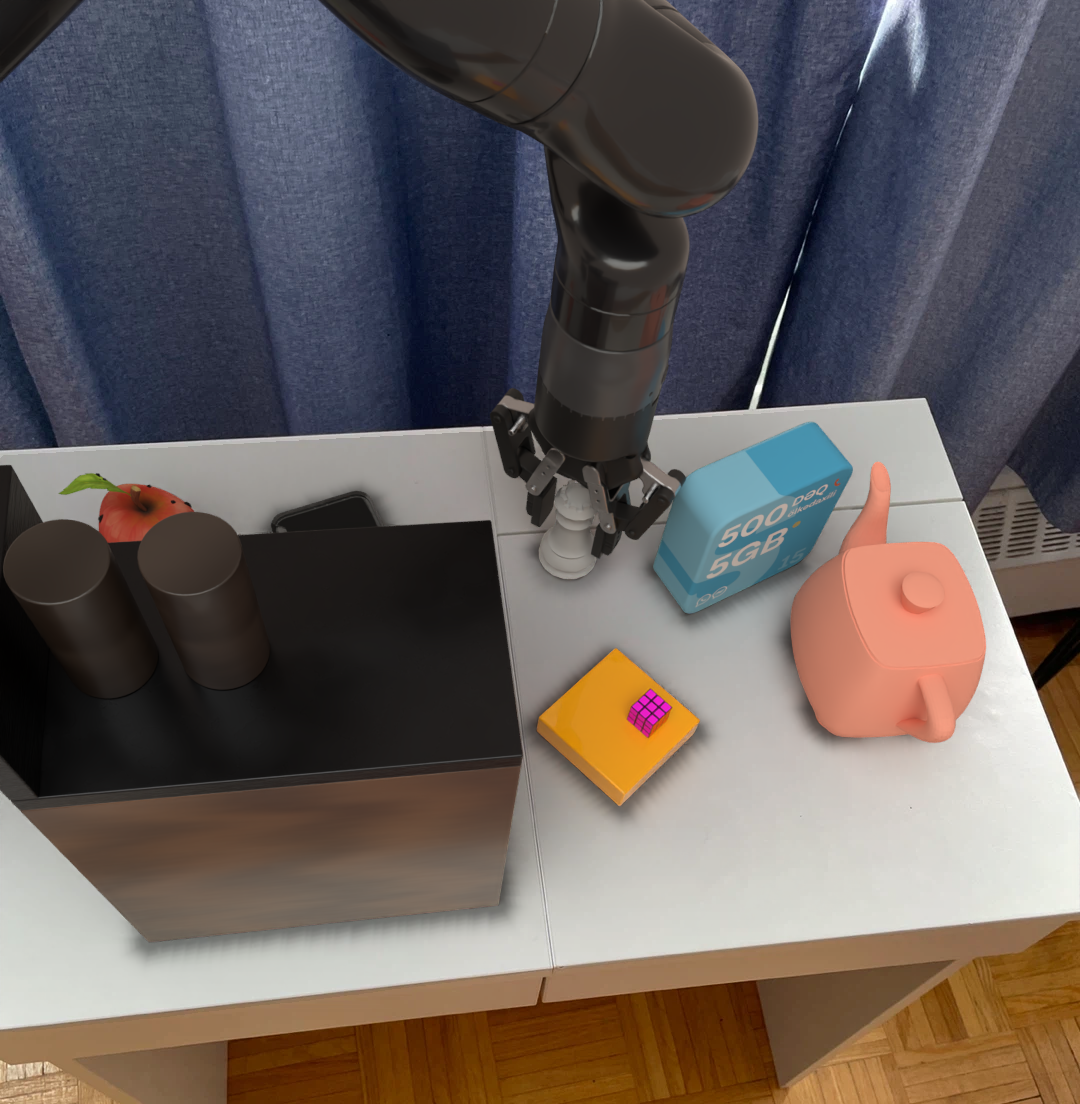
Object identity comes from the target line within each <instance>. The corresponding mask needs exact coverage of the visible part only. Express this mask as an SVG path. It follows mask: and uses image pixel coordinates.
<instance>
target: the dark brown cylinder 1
mask: <svg viewBox="0 0 1080 1104" xmlns="http://www.w3.org/2000/svg"><path fill="white" fill-rule="evenodd" d="M3 572H4V578H5V580H6V583H7V585H8V586H9V588H10V590H11V591H12V593H13V594H14V596H15V597H16V599H17V600H18V602H19V603H20V605H21V606H22V608H23V609H24V611H25V612H26V614H27V615H28V617H29V618H30V620H31V621H32V623H33V624H34V626H35V627H36V629H37V630H38V632H39V633H40V635H41V636H42V638H43V639H44V641H45V642H46V644H47V645H48V647H49V648H50V650H51V651H52V653H53V655H54V656H55V658H56V659H57V661H58V662H59V664H60V665H61V667H62V668H63V670H64V671H65V673H66V674H67V676H68V677H69V679H70V680H71V682H72V683H73V684H74V685H75V686H76V687H77V688H78V689H79V690H80V691H82V692H83V693H85V694H87V695H90V696H93V697H97V698H105V699H106V698H118V697H122V696H125V695H128V694H130V693H132V692H134V691H136V690H137V689H139V688H140V687H141V686H143V685H144V684H145V683H146V682H147V681H148V680H149V678H150V677H151V676H152V674H153V672H154V670H155V668H156V665H157V661H158V649H157V645H156V643H155V640H154V638H153V636H152V634H151V632H150V630H149V628H148V626H147V624H146V622H145V620H144V618H143V615H142V613H141V611H140V609H139V607H138V605H137V603H136V601H135V599H134V597H133V595H132V592H131V590H130V588H129V586H128V584H127V582H126V580H125V578H124V576H123V574H122V572H121V570H120V567H119V565H118V563H117V561H116V559H115V557H114V555H113V553H112V551H111V549H110V547H109V544H108V542H107V541H106V539H105V538H104V536H103V535H102V534H101V533H100V532H99V529H96V528H95V527H94V526H92V525H90V524H87V523H86V522H83V521H80V520H75V519H67V518H63V519H62V518H61V519H60V518H57V519H52V520H47V521H43V523H40V524H37V525H35V526H33V527H31V528H29V529H28V530H26V531H25V532H23V533H22V534H21V535H20V536H18V537H17V538H16V539H15V541H14V542H13V543H12V544H11V546H10V547H9V549H8V551H7V553H6V556H5V559H4V564H3Z"/></svg>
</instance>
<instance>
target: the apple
mask: <svg viewBox="0 0 1080 1104" xmlns="http://www.w3.org/2000/svg"><path fill="white" fill-rule="evenodd" d="M86 489H87V490H88V489H91V490H106V491H108V492H106V493H105V495H104V497H103V498H102V501H101V503H100V507H99V512H98V513H99V514H98V518H97V520H98V531H99V532H100V533H101V534H102V535H103V536H104V538H105V539H106V541H107V542H108V543H111V542H128V541H142V539H143V537H144V536H145V534H146V533H147V532H148V531H149V530H150V529H151V528H152V527H153V526H154V525H155V524H157V523H158V522H159V521H161V520H163V519H165V518H167V517H169V516H172V515H175V514H179V513H183V512H196V511H195V510H194V509H193V508H192V504H191V503H190V502H188V501H184V500H182V499H181V498H180V497H178V496H177V495H176V494H173V493H172V492H169V491H167V490H165V489H162V488H160V487H157V486H153V485H151V484H141V483H122V484H118V485H116V484H114V483H113V482H111V481H110V480H108V479H107V478H105V477H103V476H102V475H101V474H100V473H98V472H95V473H92V472H90V473H89V472H87V473H84V474H79V475H78V476H76V477H75V478H74V479H73V480H72V481H71V482H70V483H69V484H68V485H67V486H66V487H65V488H64V489H63V490H61V491H59V492H58V493H57V494H58V495H62V496H68V495H71V494H74V493H75V494H76V493H78V492H80V491H84V490H86Z"/></svg>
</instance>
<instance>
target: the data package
mask: <svg viewBox="0 0 1080 1104" xmlns="http://www.w3.org/2000/svg"><path fill="white" fill-rule="evenodd" d="M853 472H854V466H853V465H852V463H851V462H850V461H849V460H848V459H847V458H846V457H845V456H844V454H843V453H842V452H841V450H840V449H839V448H838V447H837V446H836V444H835V442H833V441H832V440H831V439H830V437H829V436H828V435H827V434H826V432H825V431H824V430H823V429H822V427H820V425H819V424H818V423H817V422H815V421H806V422H803V423H800V424H798V425H796V426H794V427H791V428H789V429H786V430H785V431H782V432H780V433H777V434H774V435H773V436H770V437H768V438H766V439H763V440H761V441H759V442H757V443H754V444H752V445H750V446H748V447H745V448H743V449H740V450H738V451H736V452H734V453H732V454H729V455H727V456H724V457H722V458H720V459H717V460H715V461H713V462H711V463H709V464H706V465H704V466H701V467H699V468H697V469H696V470H693V471H692V472H691V473H689V474H688V475H686V476H685V477H686V481H685V483H684V484H683V486H682V487H681V489H680V490H679V492H678V494H677V495H676V497H675V498H674V500H673V501H672V503H671V505H670V506H671V507H670V509H669V513H668V516H667V520H666V522H665V526H664V529H663V532H662V535H661V539H660V541H659V546H658V548H657V552H656V555H655V558H654V561H653V566H652V567H653V571H654V572H655V573H656V575H657V576H658V578H659V579H660V580H661V582H662V583H663V585H664V586H665V588H666V589H667V590H668V592H669V593H670V594H671V596H672V598H673V599H674V601H675V602H676V603H677V605H678V606H679V607H680V608H681V610H682V611H683V612H684V613H685V614H695V613H698V612H700V611H702V610H704V609H706V608H708V607H710V606H712V605H715V604H717V603H719V602H721V601H723V600H725V599H727V598H730V597H731V596H733V595H736V594H737V593H740V592H741V591H744V590H746V589H748V588H750V587H752V586H755V585H756V584H758V583H761V582H763V581H765V580H767V579H769V578H771V577H773V576H776V575H777V574H779V573H782V572H784V571H786V570H787V569H790V568H792V567H794V566H795V565H797V564H799V563H800V562H801V561H803V560H804V559H805V558H806V557H807V556H808V555H809V554H810V553H811V552H812V551H813V549H814V547H815V545H816V544H817V541H818V539H819V537H820V536H821V533H822V532H823V530H824V528H825V526H826V524H827V522H828V521H829V518H830V517H831V515H832V513H833V511H834V509H835V508H836V506H837V503H838V501H839V500H840V498H841V496H842V495H843V492H844V491H845V489H846V487H847V484H848V483H849V481H850V479H851V477H852V475H853V474H854V473H853Z"/></svg>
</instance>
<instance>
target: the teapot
mask: <svg viewBox="0 0 1080 1104" xmlns="http://www.w3.org/2000/svg"><path fill="white" fill-rule="evenodd" d="M891 490H892V484H891V478H890V474H889V471H888V469H887V468H886V466H885V464H884V463H883V462H881V461H875V462H874V463H873V464H872V466H871V469H870V474H869V488H868V493H867V497H866V500H865V503H864V505H863V508H862V509H861V511H860V512H859V514H858V515H857V517H856V519H855V521H854V522H853V523H852V525H850V528H849V529H848V530H847V533H846V534H845V536H844V537H843V540H842V542H841V545H840V547H839V551H838V554H836V555H835V556H833V557H832V558H830V559H829V560H827V561H825V562H824V563H823V564H821V565H820V566H819V567H818V568H817V569H816V570H814V571H813V572H812V573H811V574H810V575H809V576H808V577H807V578H806V580H805V581H804V582H803V583H802V585H801V586H800V587H799V589H798V591H797V592H796V594H795V595H794V597H793V601H792V603H791V609H790V637H791V640H790V641H791V647H792V654H793V658H794V664H795V667H796V670H797V674H798V677H799V680H800V684H801V685H802V688H803V691H804V693H805V695H806V697H807V699H808V702H809V704H810V706H811V708H812V710H813V712H814V714H815V719H816V721H817V722H818V723H819V725H820V726H822V728H824V729H826V731H827V732H829V733H831V734H832V735H834V736H837V737H840V738H841V737H842V738H858V739H859V738H861V739H862V738H883V737H886V738H887V737H897V736H904V735H905V736H906V735H909V736H911V737H913V738H916V739H917V740H920V741H922V742H926V743H930V744H931V743H932V744H938V743H942V742H946V741H948V740H949V739H951V738H952V737H953V736H954V734H955V730H956V725H957V724H956V721H957V720H958V719H959V718H960V717H961V716H962V715H963V713H964V712H965V711H966V709H967V708H968V707H969V705H970V703H971V701H972V700H973V697H974V695H975V694H976V691H977V689H978V687H979V684H980V680H981V677H982V672H983V669H984V665H985V659H986V654H987V653H986V651H987V639H986V632H985V627H984V623H983V618H982V615H981V610H980V607H979V604H978V600H977V597H976V595H975V593H974V590H973V588H972V585H971V584H970V580H969V579H968V577H967V575H966V573H965V571H964V569H963V567H962V565H961V563H960V562H959V560H958V558H957V557H956V556H955V554H954V553H953V552H952V550H951V549H950V548H948V547H947V546H946V545H944V544H942V543H941V542H936V541H906V542H904V541H903V542H890V543H887V533H888V521H889V514H890V507H891V506H890V504H891V492H892V491H891Z"/></svg>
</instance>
